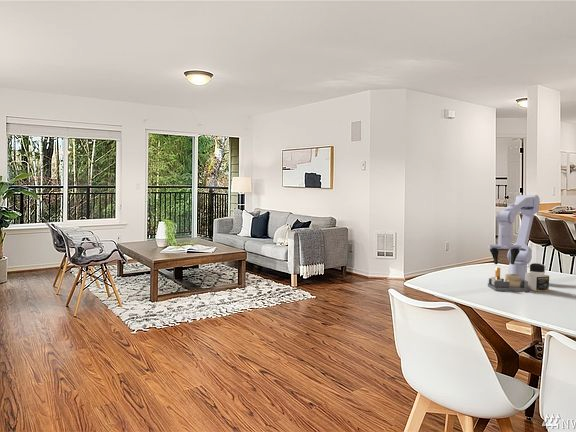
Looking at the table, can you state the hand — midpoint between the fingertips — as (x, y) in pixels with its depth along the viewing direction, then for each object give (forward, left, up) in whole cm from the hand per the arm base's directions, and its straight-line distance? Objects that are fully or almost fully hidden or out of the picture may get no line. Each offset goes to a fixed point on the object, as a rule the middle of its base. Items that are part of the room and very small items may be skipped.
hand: (504, 264), depth 215 cm
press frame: (+7, -1, -10) cm, 13 cm away
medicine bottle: (+7, +12, -11) cm, 18 cm away
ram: (+7, -6, -9) cm, 13 cm away
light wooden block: (+7, +1, -9) cm, 11 cm away
